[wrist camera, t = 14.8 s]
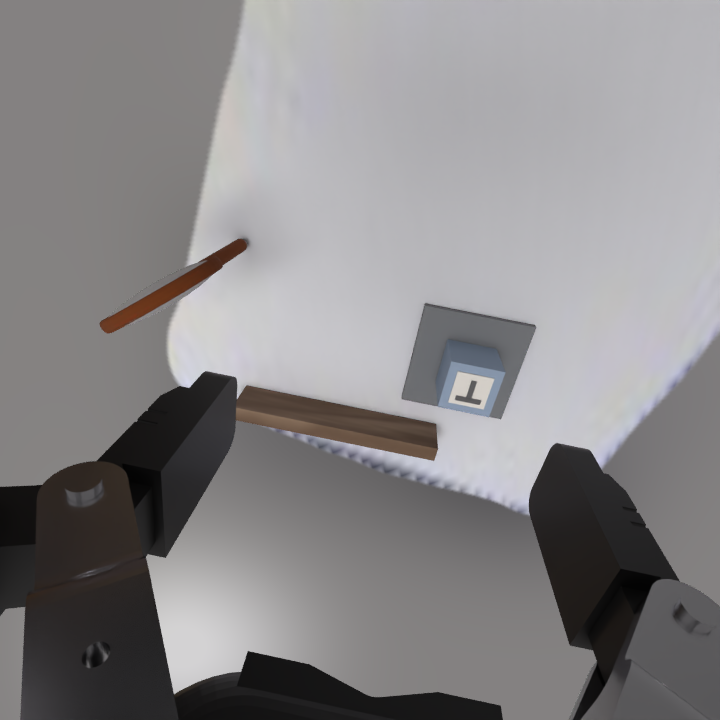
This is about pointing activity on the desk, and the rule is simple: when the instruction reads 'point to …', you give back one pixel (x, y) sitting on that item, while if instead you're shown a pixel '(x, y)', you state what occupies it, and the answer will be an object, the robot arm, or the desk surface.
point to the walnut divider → (337, 422)
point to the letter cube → (469, 378)
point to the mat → (467, 329)
